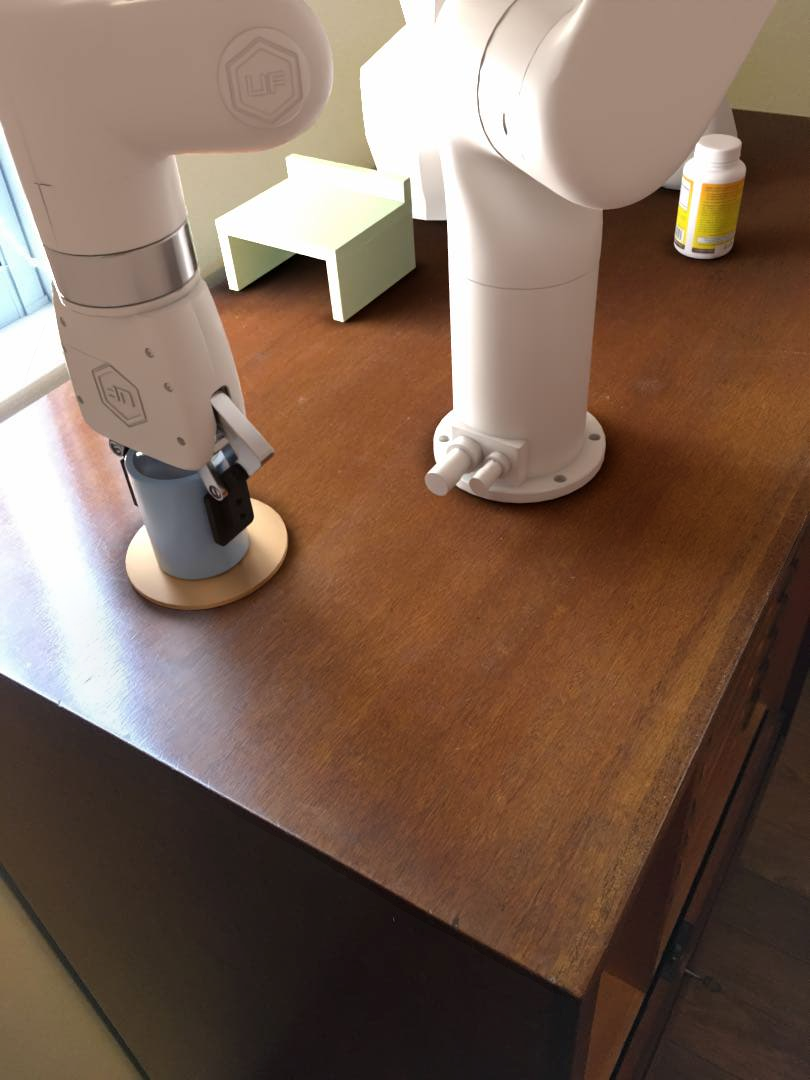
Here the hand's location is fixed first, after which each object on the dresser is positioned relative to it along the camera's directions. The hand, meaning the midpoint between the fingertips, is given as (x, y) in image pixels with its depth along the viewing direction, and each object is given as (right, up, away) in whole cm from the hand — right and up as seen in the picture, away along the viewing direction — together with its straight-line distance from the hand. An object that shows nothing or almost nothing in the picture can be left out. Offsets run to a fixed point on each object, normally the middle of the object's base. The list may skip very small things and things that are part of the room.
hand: (194, 512), depth 61 cm
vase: (+17, +35, +41) cm, 57 cm away
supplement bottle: (+43, +27, +30) cm, 59 cm away
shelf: (+6, +24, +31) cm, 39 cm away
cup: (0, -2, +2) cm, 3 cm away
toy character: (+45, +38, +43) cm, 72 cm away
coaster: (0, -3, +3) cm, 4 cm away
